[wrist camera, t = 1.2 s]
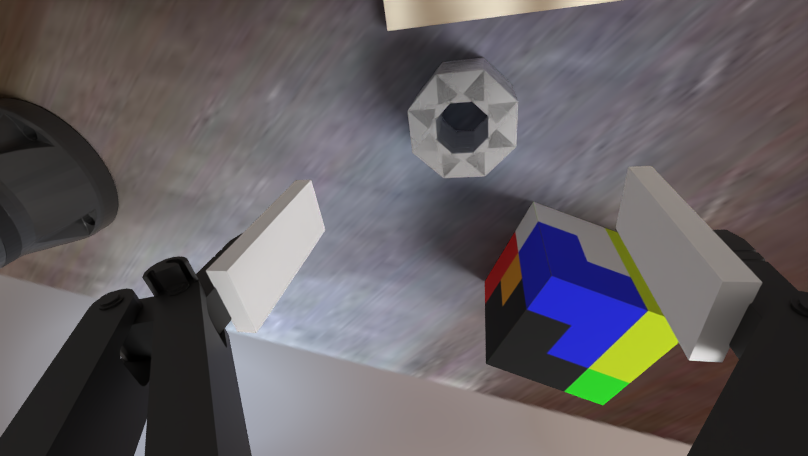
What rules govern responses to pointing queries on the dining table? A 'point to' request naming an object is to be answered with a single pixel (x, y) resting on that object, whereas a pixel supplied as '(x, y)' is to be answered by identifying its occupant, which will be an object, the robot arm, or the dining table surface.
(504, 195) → the dining table surface
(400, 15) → the carrier
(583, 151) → the dining table surface
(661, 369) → the dining table surface
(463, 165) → the octagonal tube
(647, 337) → the puzzle toy
